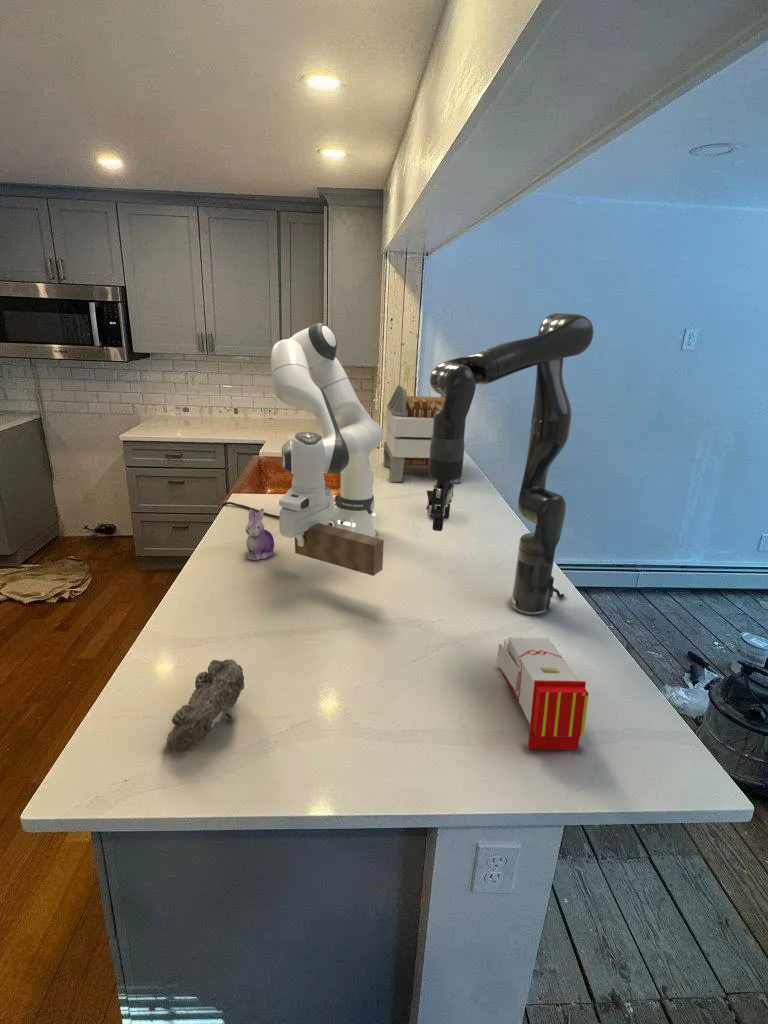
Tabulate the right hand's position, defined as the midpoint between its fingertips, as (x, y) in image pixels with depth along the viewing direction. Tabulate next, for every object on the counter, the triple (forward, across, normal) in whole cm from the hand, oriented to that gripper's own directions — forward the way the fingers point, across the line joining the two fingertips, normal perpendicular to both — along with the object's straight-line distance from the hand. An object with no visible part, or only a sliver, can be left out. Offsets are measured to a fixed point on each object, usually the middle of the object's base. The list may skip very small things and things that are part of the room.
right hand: (440, 524), depth 131 cm
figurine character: (+28, +84, +16) cm, 90 cm away
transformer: (+28, +138, +34) cm, 145 cm away
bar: (+18, +9, +28) cm, 35 cm away
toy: (+28, -20, -25) cm, 43 cm away
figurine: (+28, +25, +60) cm, 71 cm away
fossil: (+28, -45, +34) cm, 63 cm away
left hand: (+15, +11, +38) cm, 42 cm away
